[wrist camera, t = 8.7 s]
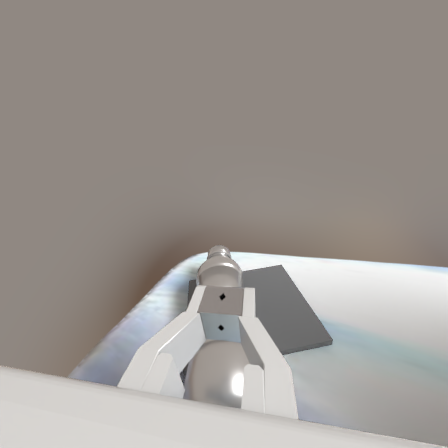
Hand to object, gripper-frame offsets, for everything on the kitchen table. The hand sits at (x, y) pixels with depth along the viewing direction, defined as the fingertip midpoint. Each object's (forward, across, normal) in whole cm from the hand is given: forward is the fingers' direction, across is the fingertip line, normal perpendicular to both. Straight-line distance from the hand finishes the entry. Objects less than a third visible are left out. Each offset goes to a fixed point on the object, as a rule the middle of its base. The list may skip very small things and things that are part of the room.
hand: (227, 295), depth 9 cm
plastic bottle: (-2, -1, -11) cm, 11 cm away
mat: (+11, 0, -14) cm, 17 cm away
